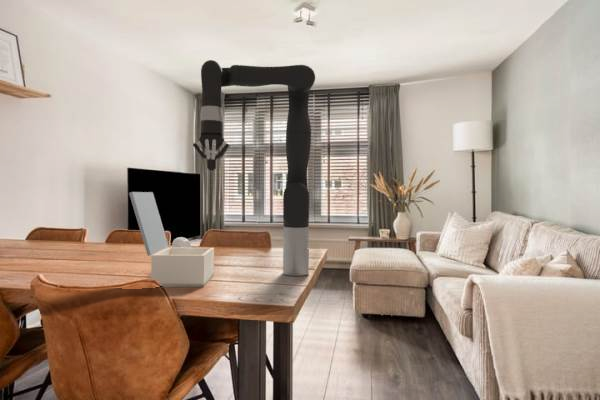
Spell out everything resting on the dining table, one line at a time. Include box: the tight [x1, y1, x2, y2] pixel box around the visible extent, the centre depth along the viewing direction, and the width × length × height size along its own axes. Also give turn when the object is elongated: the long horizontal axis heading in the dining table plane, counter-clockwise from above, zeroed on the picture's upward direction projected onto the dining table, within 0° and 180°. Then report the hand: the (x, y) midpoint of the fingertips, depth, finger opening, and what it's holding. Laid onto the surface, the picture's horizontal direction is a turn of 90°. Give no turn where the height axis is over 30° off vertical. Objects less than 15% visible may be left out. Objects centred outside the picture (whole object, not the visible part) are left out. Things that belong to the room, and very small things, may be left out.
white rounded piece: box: [171, 236, 192, 248], centre depth 134 cm, size 10×4×12 cm, turn 39°
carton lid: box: [128, 191, 170, 256], centre depth 117 cm, size 20×17×1 cm
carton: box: [150, 247, 215, 288], centre depth 118 cm, size 16×16×10 cm
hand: (211, 170), depth 124 cm, fingers closed
